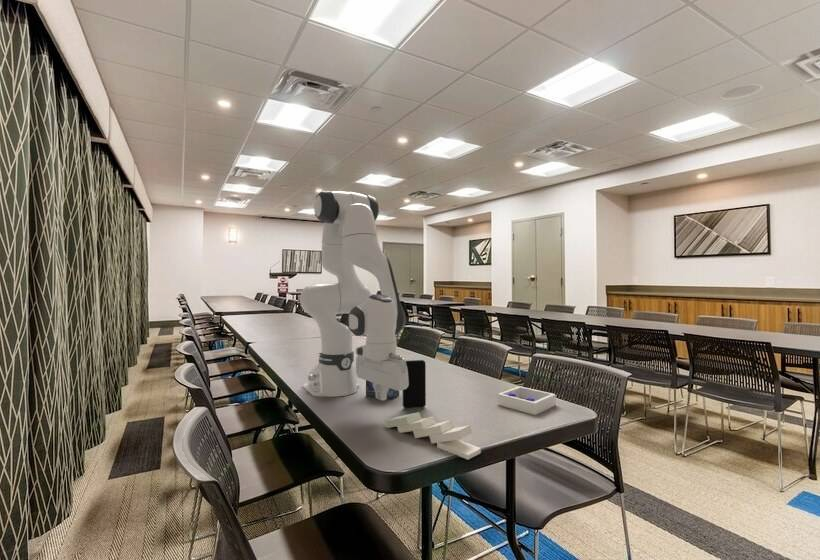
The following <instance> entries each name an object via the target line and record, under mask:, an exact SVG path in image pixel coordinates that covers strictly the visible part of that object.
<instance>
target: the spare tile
mask: <svg viewBox="0 0 820 560" xmlns="http://www.w3.org/2000/svg"><path fill="white" fill-rule="evenodd" d="M420 419H422V416H421V413H420V412H419V411H418V412H413V413H409V414H405V415H404V414H403V415H399V416H395V417H393V418H390V419H388V420H385V421H384V424H385V427H386V428H387V429H389V428H394V427H395V428H396V427H397V426H401V425H407V424H410V423H412V422H415V421H417V420H420Z"/></svg>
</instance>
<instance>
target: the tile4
mask: <svg viewBox="0 0 820 560" xmlns="http://www.w3.org/2000/svg"><path fill="white" fill-rule="evenodd" d="M471 434H473V432H472V428H471V425H465V426H458V427H454V428H452V429H450V430H448V431H446V432H444V433H440V434H435V435H430V436H428V437H429V439H430V443H431V444H432V445H433V444H437V443H439V442H445V441H452V440H462V439H463V438H466V437H467V436H469V435H471Z"/></svg>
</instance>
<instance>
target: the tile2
mask: <svg viewBox="0 0 820 560" xmlns="http://www.w3.org/2000/svg"><path fill="white" fill-rule="evenodd" d="M434 424H437V422H436V419H435V416H428V417H424V418H421V419H420V420H417V421H415V422H412V423H410V424H407V425H401V426H396V427H397V432H398V433H401V434H402V433H408V432H413V431H415V430H421V429H424V428H427V427H429V426H431V425H434Z"/></svg>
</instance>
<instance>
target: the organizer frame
mask: <svg viewBox="0 0 820 560" xmlns="http://www.w3.org/2000/svg"><path fill="white" fill-rule="evenodd" d="M510 393H513V394H515V396H516V397H513V396H509V395H508V394H510ZM556 397H557V396H556V394H555V393H553V392H547V391H544V390H543V391H542V390H538V389H534V388H529V387H525V386H516V387H514V388H513V387H512V388H511V389H508V390H505V391H502V392H499V393H497V406H500V407H504V408H509V409H511V410H516V411H518V412H519V411H520V412H523V413H525V414H530V415H534V416H536V415H538V414H541V413H542V412H544V411H547V410H549V409H551V408H553V407H555V406H556V403H557V400H556ZM528 398H533V399H534V402H533V401H529V400H526V399H528Z"/></svg>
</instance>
